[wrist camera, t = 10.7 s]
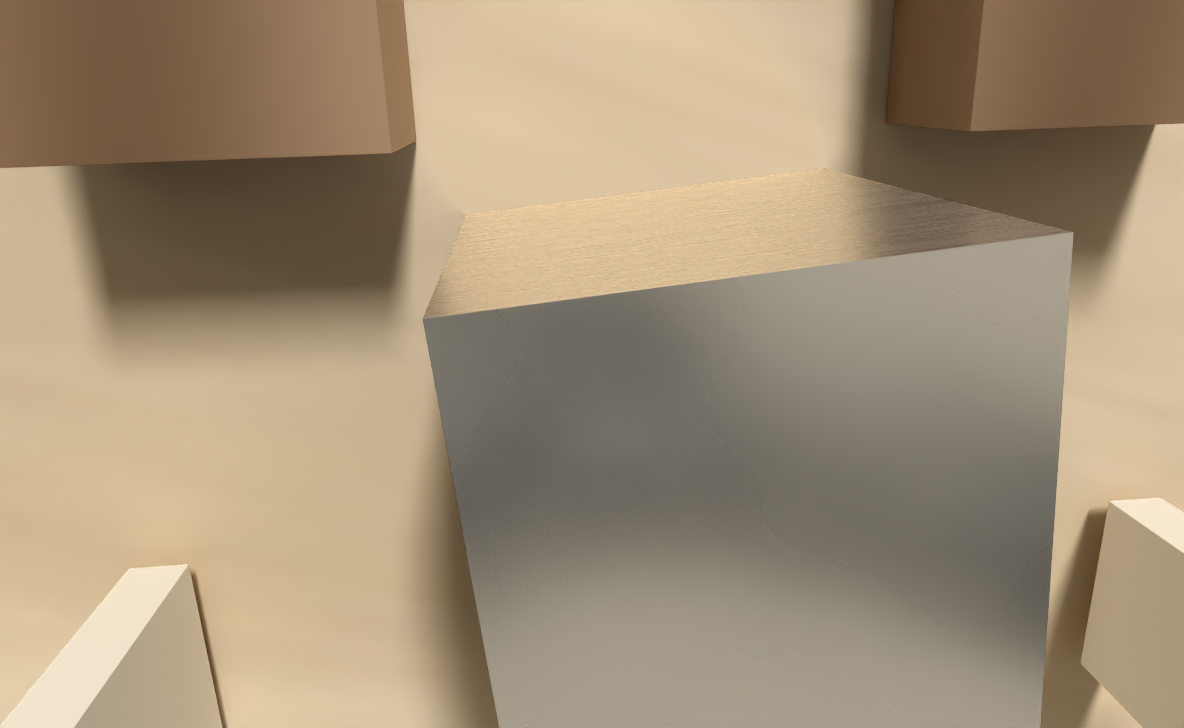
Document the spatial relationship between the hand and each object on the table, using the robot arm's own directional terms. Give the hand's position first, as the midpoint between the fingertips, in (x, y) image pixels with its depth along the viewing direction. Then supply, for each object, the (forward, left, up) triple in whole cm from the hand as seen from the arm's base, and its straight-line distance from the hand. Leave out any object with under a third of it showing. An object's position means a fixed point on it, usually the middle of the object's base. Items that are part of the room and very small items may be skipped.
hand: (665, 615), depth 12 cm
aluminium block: (0, +2, 0) cm, 2 cm away
